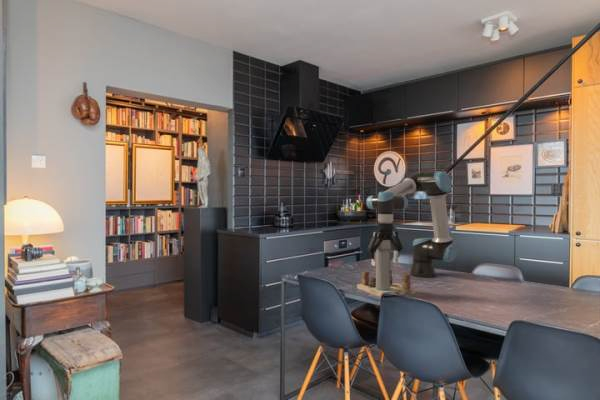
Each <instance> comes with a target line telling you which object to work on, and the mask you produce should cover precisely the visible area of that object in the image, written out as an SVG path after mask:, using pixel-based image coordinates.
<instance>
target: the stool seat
mask: <svg viewBox="0 0 600 400" xmlns="http://www.w3.org/2000/svg"><path fill="white" fill-rule="evenodd" d="M390 270H391V277H392V278H393V269H390ZM411 277H412V275H410V274H407V273H405V274H402V284H400V283H396V282H393V281H392V284H391V285H390V288H393V289H396V290H399V291H396V292H388V293H390V294H397V295H396V296H404V295H411V294H416V289H415V288H412V287H411ZM369 285H370V272H369V271H367V270H365V271H362V270H361V281H360V283H357V284H356V286H357V289H359V290H361V291H364V292H366V293H369V294H370V295H373V296H377V297H379V298H382V297H381V295H382V294H384V293H381V292H378V291H376V290H373V289H371V288H375V287H376V286H375V287H370V286H369Z"/></svg>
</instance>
